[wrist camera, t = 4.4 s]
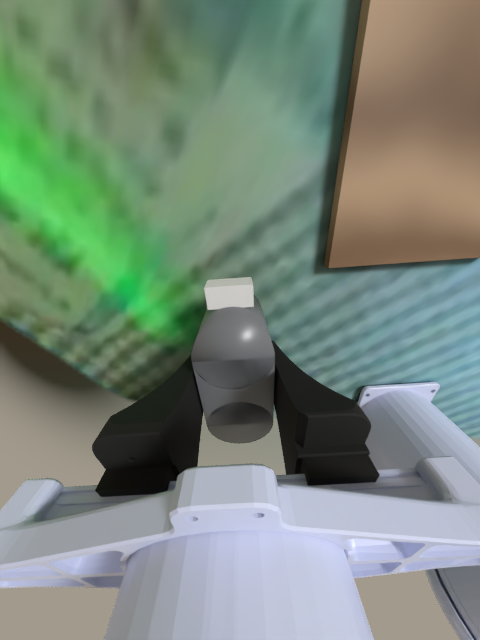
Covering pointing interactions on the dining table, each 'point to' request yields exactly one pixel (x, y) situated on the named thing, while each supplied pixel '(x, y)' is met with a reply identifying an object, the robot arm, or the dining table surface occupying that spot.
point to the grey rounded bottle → (234, 363)
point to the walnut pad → (410, 137)
